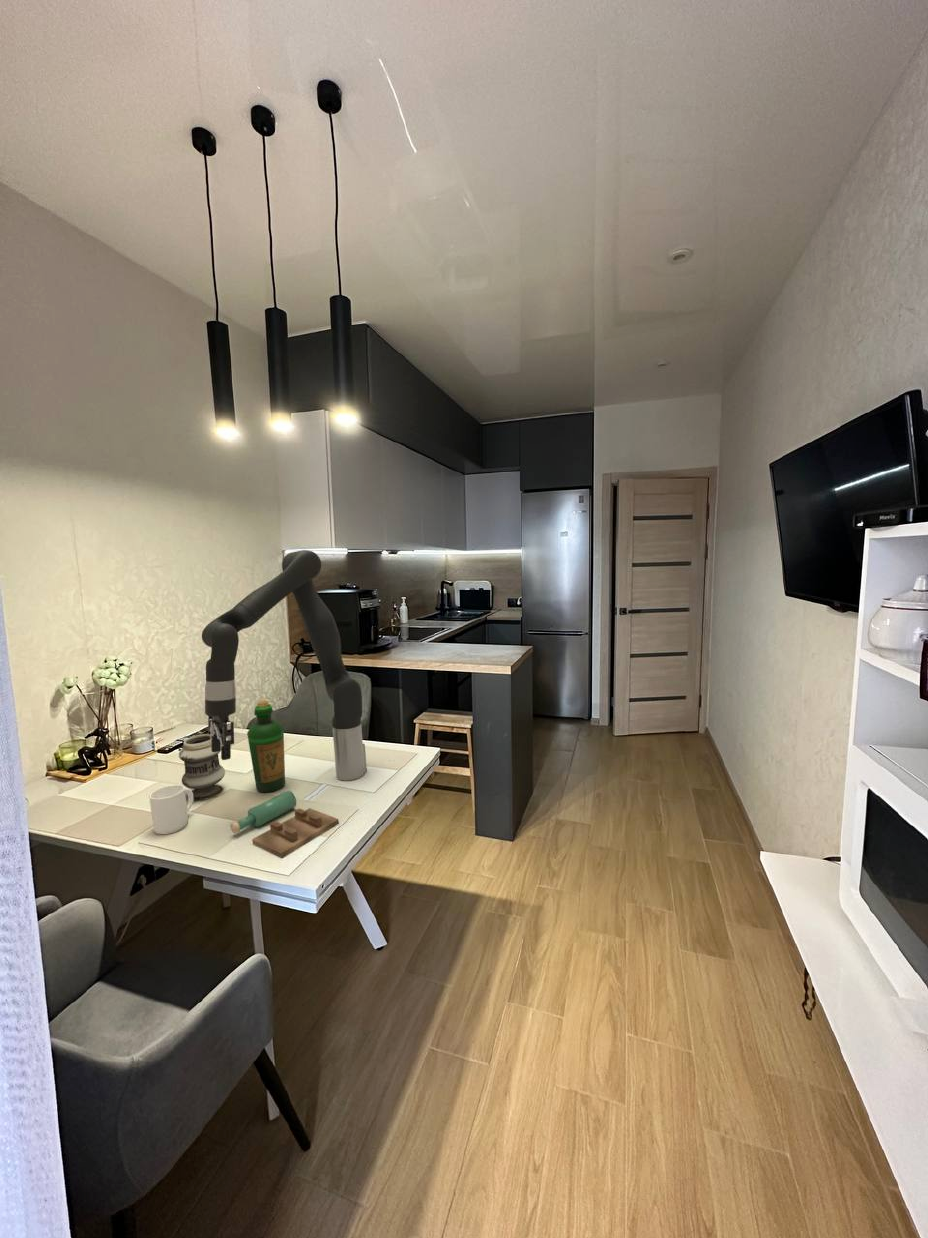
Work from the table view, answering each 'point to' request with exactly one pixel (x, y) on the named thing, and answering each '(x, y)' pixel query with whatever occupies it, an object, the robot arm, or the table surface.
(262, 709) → the bottle
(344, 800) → the table surface
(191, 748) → the apothecary jar
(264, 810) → the bottle
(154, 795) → the mug
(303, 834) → the bottle rest
